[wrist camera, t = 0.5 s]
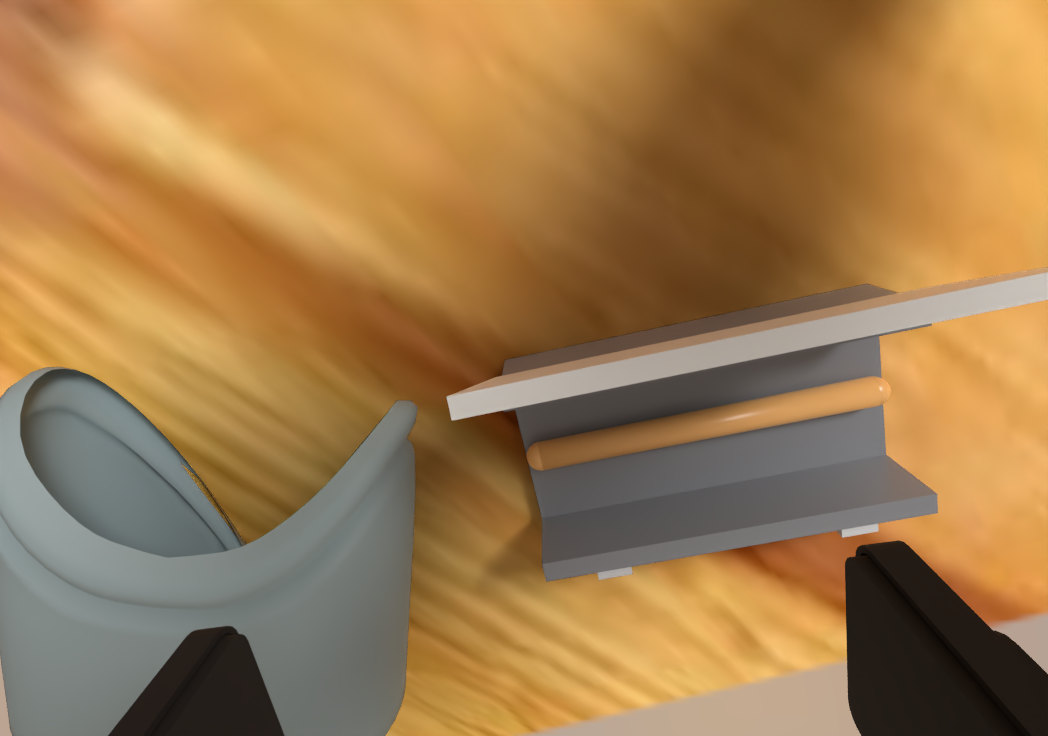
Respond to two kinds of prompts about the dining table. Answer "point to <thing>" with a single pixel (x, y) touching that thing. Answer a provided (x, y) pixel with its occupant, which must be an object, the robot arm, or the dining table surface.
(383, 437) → the pencil case
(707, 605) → the dining table surface
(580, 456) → the cable duct
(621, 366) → the plate
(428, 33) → the dining table surface
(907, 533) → the dining table surface
